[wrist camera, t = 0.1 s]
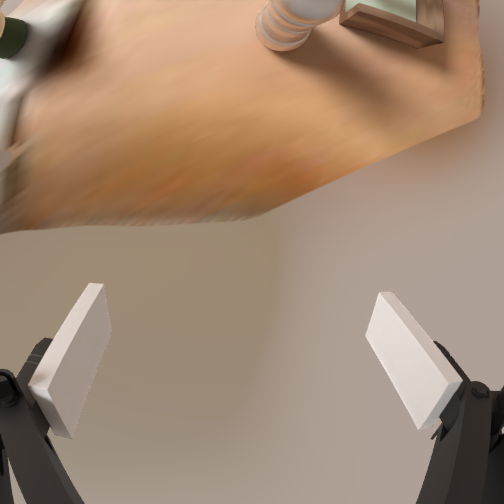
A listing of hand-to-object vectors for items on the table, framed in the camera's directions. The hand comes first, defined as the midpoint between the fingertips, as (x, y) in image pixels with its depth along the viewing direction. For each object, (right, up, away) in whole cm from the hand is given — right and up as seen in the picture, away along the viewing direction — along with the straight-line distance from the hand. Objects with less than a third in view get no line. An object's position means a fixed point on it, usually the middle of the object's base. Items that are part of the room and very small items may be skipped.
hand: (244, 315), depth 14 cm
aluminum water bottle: (+4, +30, +18) cm, 35 cm away
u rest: (+18, +38, +16) cm, 45 cm away
